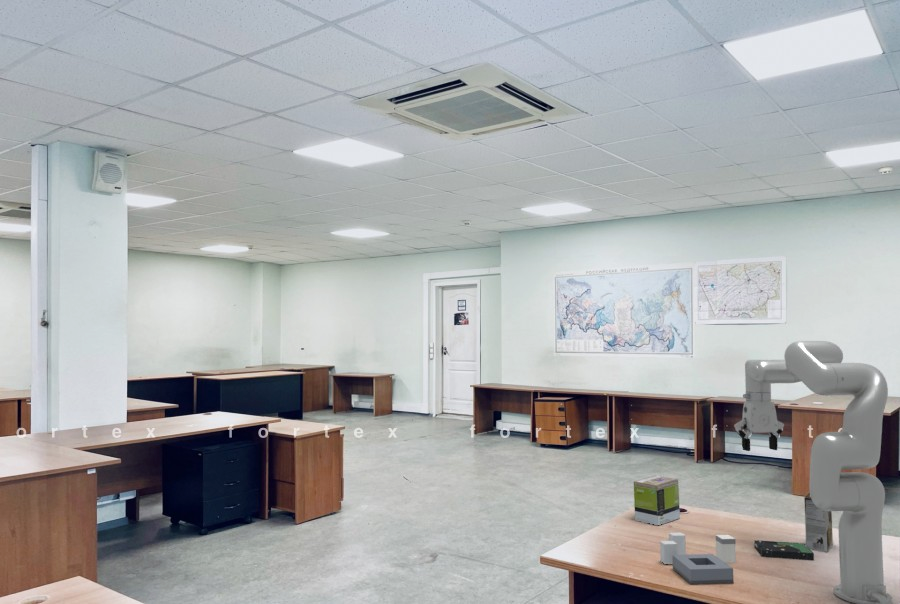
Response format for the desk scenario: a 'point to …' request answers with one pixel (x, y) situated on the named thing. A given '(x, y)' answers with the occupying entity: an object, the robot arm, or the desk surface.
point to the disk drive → (783, 550)
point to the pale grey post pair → (672, 547)
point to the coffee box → (817, 527)
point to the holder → (702, 569)
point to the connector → (725, 548)
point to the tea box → (656, 500)
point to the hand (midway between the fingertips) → (759, 450)
